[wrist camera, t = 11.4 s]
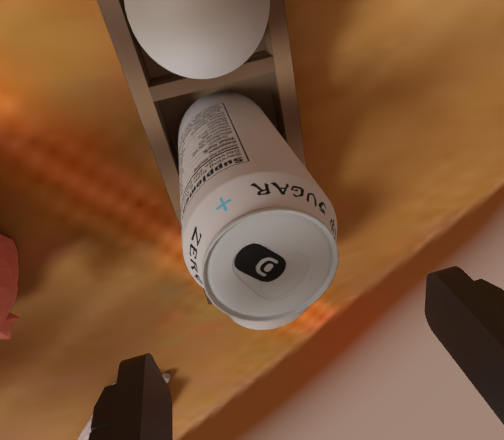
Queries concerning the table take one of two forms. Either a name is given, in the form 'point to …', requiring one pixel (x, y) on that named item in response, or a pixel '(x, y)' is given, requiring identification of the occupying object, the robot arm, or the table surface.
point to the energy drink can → (251, 213)
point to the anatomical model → (8, 284)
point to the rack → (204, 71)
